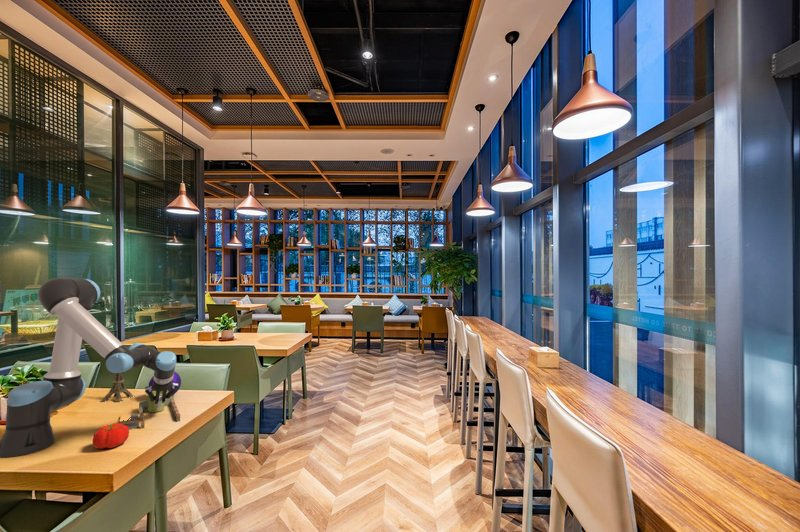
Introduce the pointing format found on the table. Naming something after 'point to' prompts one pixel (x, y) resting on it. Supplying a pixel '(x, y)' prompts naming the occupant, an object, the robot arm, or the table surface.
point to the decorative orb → (175, 379)
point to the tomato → (110, 436)
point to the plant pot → (151, 404)
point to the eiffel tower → (117, 389)
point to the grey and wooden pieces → (145, 406)
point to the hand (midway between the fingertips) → (159, 405)
